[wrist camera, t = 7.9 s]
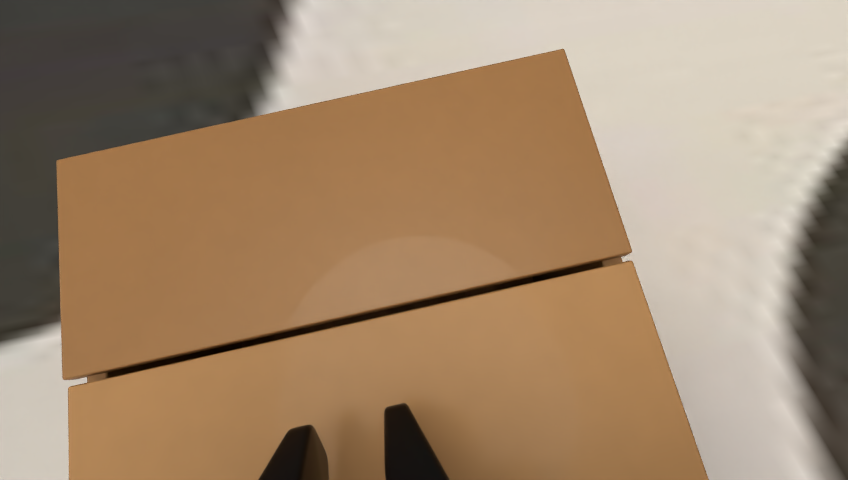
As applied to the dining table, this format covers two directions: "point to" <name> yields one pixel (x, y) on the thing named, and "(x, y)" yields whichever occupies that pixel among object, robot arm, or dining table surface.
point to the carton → (329, 216)
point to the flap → (415, 394)
